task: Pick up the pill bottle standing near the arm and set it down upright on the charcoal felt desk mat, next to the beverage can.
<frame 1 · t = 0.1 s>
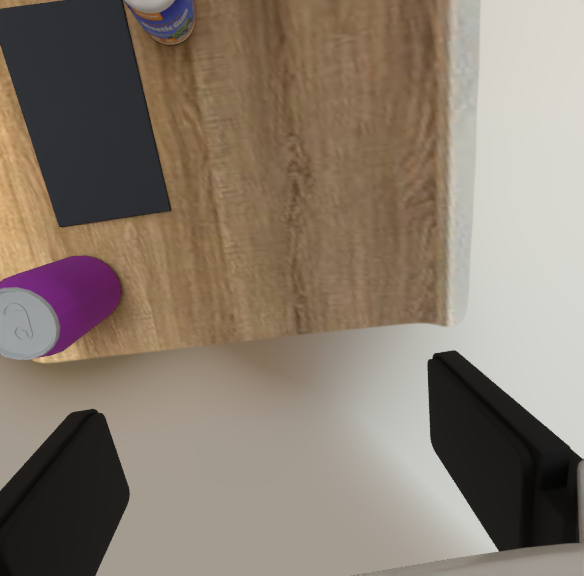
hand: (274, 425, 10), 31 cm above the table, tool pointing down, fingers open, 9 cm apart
beverage can: (90, 286, 40), on the table
desk mat: (89, 119, 35), on the table
pill bottle: (169, 15, 33), on the table
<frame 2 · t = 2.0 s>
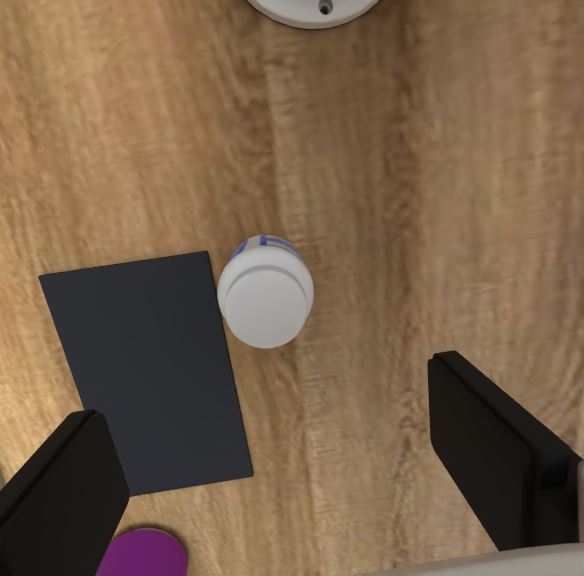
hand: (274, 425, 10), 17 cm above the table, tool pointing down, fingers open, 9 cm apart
beverage can: (149, 551, 32), on the table
desk mat: (158, 384, 28), on the table
pill bottle: (266, 268, 26), on the table
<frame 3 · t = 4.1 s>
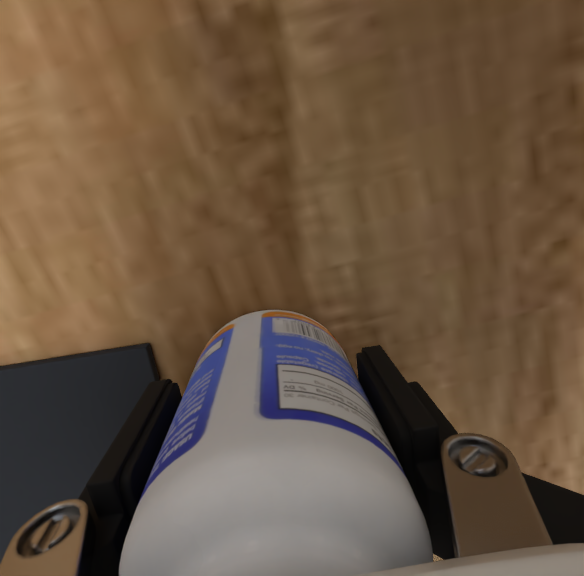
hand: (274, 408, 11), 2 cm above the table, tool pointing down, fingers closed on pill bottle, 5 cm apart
pill bottle: (273, 372, 13), on the table, touching gripper
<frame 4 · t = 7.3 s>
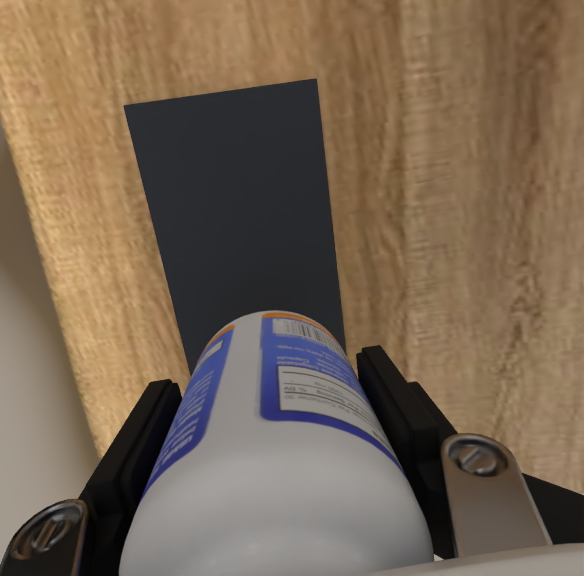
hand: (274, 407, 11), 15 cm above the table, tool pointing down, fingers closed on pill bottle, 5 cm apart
desk mat: (249, 250, 25), on the table
pill bottle: (273, 373, 13), point 13 cm above the table, touching gripper
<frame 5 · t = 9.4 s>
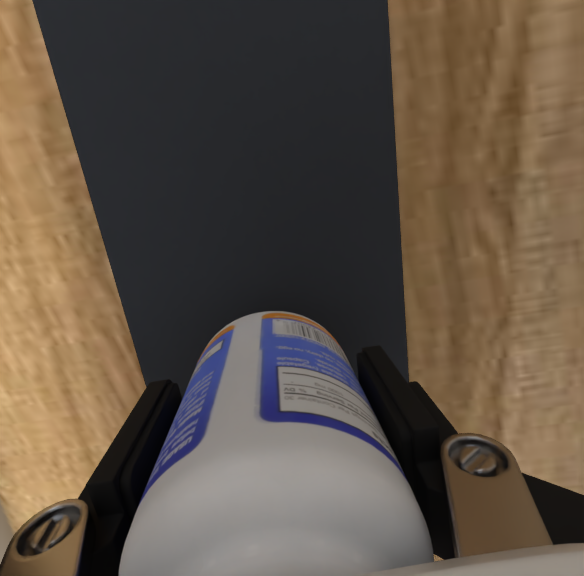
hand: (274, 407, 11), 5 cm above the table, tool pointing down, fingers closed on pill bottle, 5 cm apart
desk mat: (258, 250, 15), on the table
pill bottle: (273, 373, 13), point 3 cm above the table, touching gripper
when the fingers open (2 cm above the table, at t = 10.7 s): pill bottle stays where it is, resting on desk mat.
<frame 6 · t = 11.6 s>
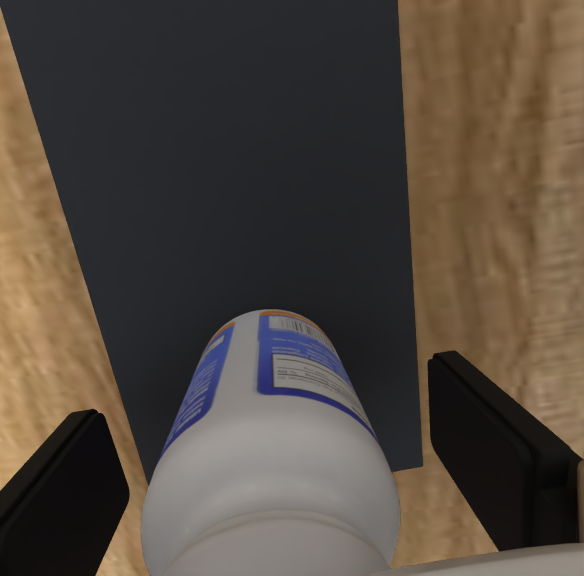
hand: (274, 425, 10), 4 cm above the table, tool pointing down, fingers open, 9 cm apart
desk mat: (253, 269, 13), on the table
pill bottle: (270, 366, 14), resting on desk mat
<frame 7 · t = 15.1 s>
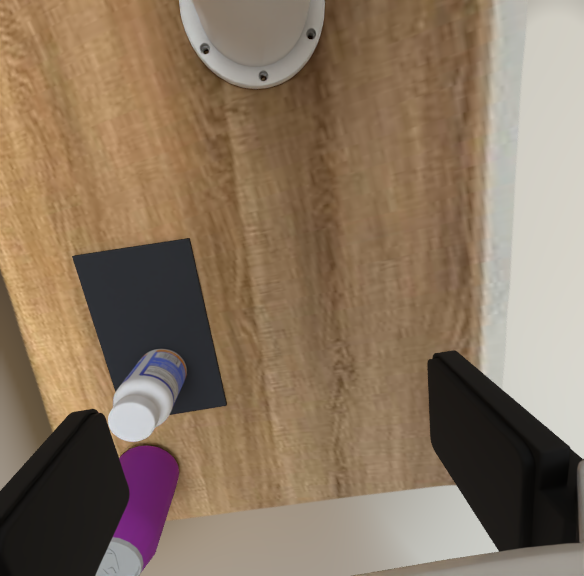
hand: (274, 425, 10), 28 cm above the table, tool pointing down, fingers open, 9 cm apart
beverage can: (150, 465, 43), on the table
desk mat: (156, 335, 39), on the table
pill bottle: (164, 367, 40), resting on desk mat
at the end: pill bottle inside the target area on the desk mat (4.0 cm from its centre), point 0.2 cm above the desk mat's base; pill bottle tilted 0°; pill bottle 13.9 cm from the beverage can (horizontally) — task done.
